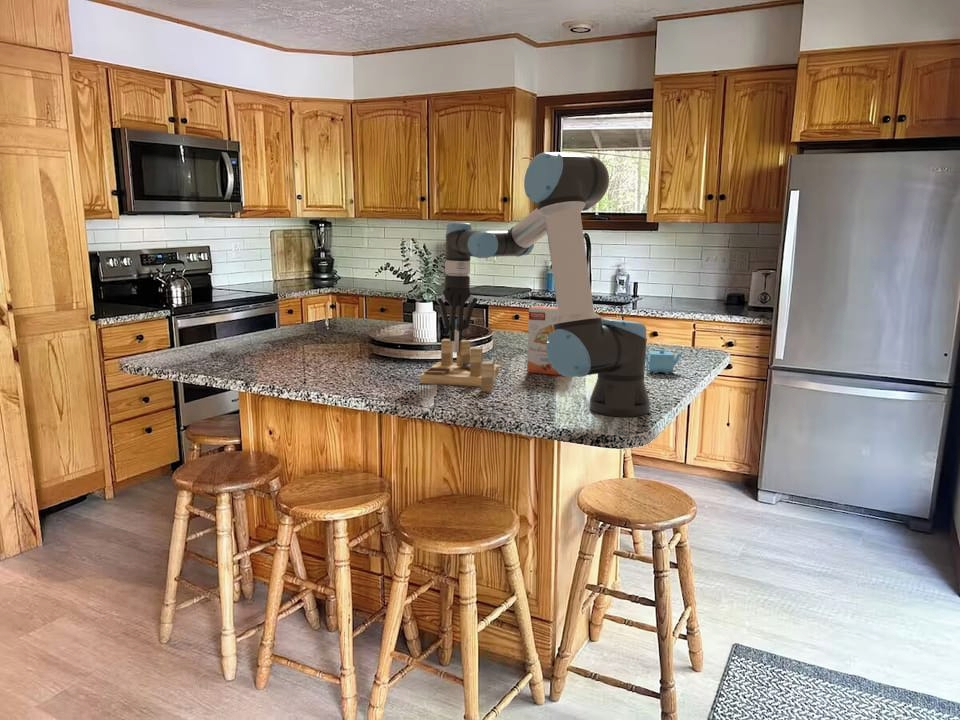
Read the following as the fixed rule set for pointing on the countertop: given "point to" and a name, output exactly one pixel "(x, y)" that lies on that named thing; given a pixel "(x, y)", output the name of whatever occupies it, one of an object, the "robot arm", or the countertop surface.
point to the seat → (456, 368)
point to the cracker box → (540, 339)
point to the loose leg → (487, 376)
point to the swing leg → (463, 354)
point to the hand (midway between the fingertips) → (455, 351)
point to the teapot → (661, 361)
